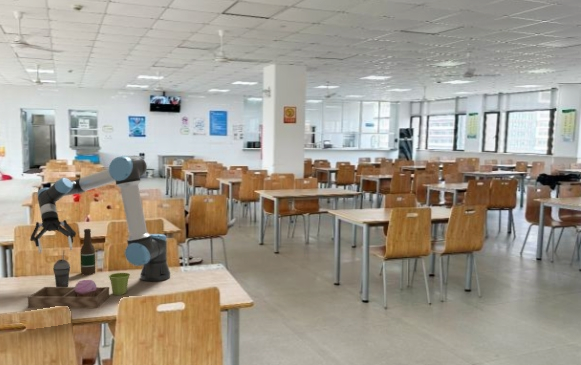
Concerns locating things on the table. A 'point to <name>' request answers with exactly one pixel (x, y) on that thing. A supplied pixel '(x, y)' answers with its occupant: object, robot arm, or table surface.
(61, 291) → the tray
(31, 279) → the table surface
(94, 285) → the cupcake
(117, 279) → the plant pot
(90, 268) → the beer bottle
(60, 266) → the beverage cup
